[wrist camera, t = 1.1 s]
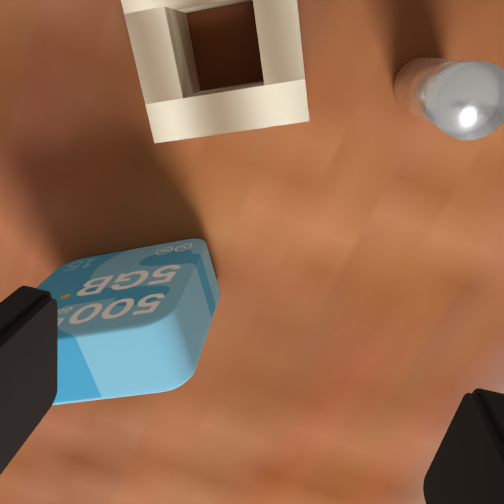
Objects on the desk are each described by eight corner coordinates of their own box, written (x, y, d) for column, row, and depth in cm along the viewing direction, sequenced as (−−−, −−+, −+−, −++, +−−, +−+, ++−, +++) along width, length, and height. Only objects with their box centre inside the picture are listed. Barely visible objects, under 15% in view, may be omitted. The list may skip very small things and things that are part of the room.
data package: (209, 234, 34) (166, 320, 23) (224, 287, 36) (190, 390, 25) (64, 260, 36) (-37, 350, 26) (85, 309, 38) (-2, 413, 27)
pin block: (291, -51, 27) (289, -71, 22) (308, 109, 30) (309, 121, 26) (143, -21, 28) (112, -35, 23) (175, 129, 31) (154, 143, 27)
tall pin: (446, 53, 28) (516, 55, 19) (446, 107, 29) (511, 134, 20) (392, 62, 28) (434, 68, 19) (394, 115, 30) (434, 144, 21)
